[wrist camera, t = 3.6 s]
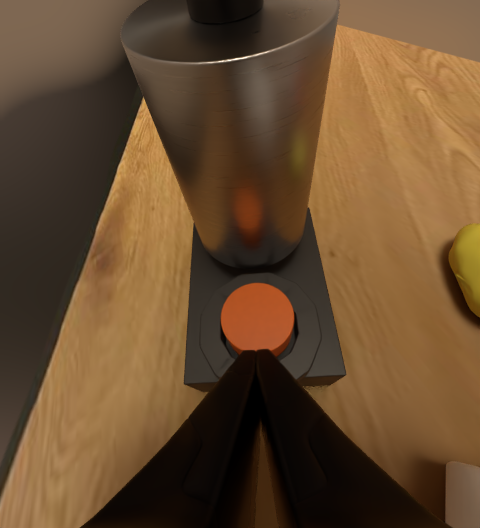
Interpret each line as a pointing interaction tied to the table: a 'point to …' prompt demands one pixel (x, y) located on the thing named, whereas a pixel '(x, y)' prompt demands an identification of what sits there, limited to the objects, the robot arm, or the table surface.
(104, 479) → the table surface
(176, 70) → the silver metal canister
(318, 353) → the push button box
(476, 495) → the mug
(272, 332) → the switch
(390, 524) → the robot arm
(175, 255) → the table surface
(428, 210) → the table surface
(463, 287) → the lemon
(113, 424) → the table surface
